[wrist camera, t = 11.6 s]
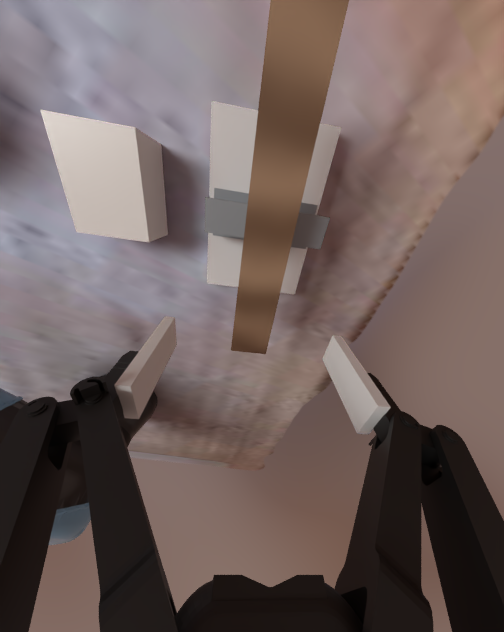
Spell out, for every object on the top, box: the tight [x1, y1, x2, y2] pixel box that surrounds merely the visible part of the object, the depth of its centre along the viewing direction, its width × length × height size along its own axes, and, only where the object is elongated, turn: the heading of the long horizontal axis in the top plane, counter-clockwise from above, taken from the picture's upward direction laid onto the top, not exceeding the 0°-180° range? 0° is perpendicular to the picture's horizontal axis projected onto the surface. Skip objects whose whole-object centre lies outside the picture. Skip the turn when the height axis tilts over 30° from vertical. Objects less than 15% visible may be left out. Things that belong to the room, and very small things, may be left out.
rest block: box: [40, 110, 168, 242], centre depth 22 cm, size 10×8×6 cm
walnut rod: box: [231, 0, 349, 354], centre depth 17 cm, size 26×4×4 cm, turn 172°
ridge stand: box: [205, 101, 341, 295], centre depth 23 cm, size 20×14×9 cm
